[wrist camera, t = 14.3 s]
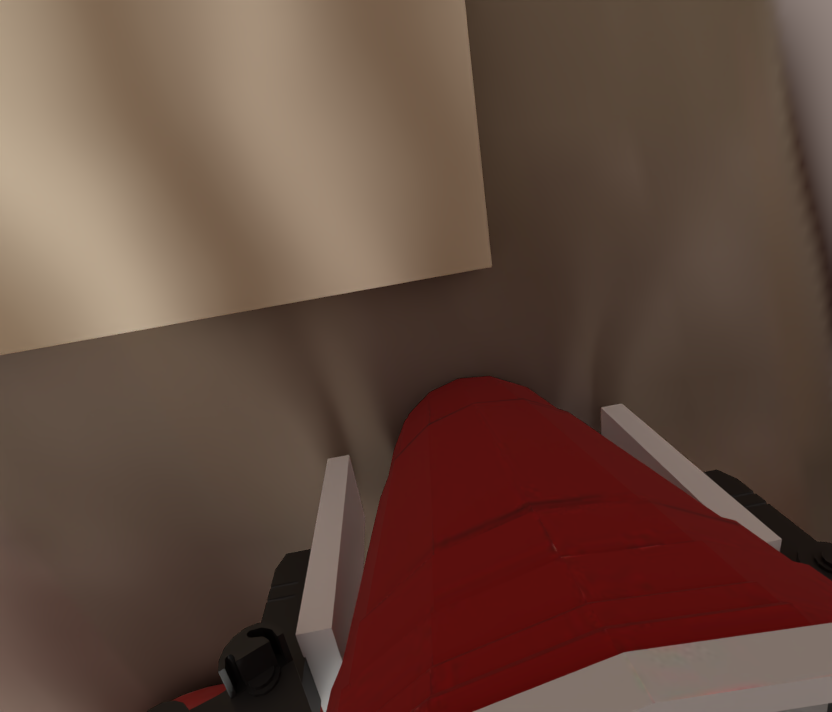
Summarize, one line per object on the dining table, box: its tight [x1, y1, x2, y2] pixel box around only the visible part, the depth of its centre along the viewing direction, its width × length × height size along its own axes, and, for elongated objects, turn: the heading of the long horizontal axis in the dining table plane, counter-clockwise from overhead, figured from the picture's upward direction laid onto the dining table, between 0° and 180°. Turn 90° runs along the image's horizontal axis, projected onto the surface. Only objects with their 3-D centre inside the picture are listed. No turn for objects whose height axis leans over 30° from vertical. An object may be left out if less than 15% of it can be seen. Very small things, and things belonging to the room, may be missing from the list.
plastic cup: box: [326, 376, 832, 712], centre depth 11 cm, size 11×11×12 cm
